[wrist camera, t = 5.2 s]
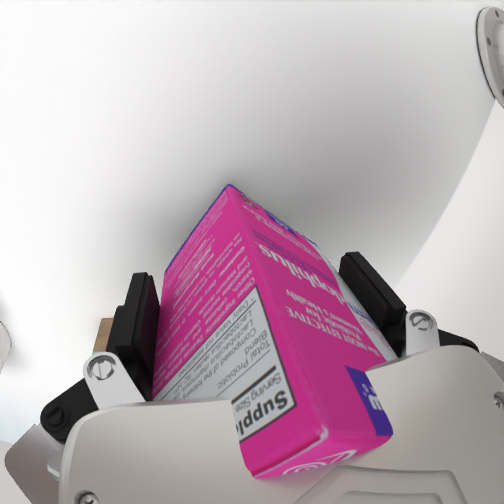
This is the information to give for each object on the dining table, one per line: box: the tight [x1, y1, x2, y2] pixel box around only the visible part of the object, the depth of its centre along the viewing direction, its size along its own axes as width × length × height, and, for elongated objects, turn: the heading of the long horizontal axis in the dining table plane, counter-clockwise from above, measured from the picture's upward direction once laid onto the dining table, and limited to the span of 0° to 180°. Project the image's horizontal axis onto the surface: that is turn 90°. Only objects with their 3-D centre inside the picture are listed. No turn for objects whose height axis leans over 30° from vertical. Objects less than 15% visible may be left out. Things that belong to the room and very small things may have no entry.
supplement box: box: [152, 184, 398, 479], centre depth 10 cm, size 6×6×12 cm
